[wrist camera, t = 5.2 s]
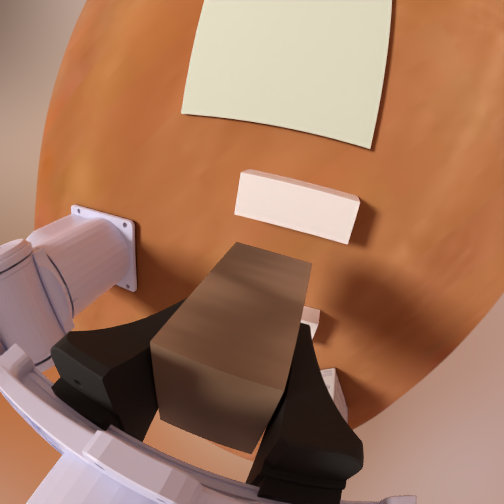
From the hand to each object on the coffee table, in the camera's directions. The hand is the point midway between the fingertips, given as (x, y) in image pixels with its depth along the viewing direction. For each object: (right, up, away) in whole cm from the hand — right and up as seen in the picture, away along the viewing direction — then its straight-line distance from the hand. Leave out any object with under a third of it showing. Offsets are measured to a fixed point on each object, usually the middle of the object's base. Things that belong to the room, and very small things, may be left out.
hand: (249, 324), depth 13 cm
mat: (+3, +18, +2) cm, 19 cm away
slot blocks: (+3, +3, +9) cm, 10 cm away
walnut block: (+1, +1, +3) cm, 3 cm away
